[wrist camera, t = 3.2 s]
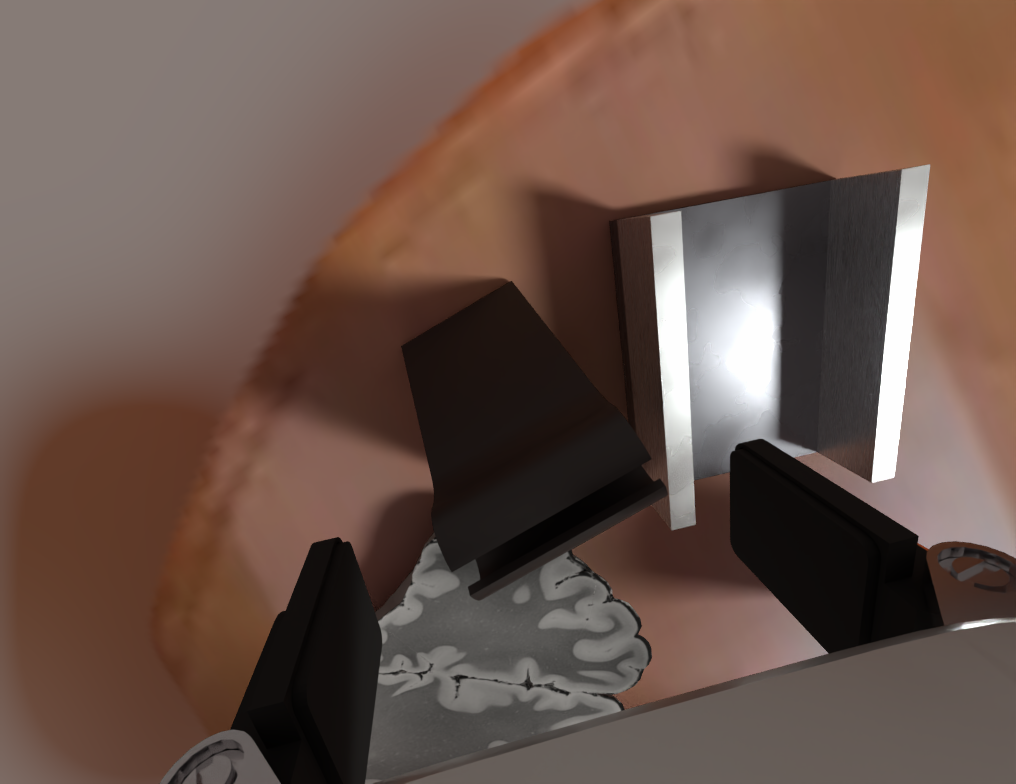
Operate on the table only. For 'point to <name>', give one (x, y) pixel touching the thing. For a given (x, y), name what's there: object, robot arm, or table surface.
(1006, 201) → the table surface
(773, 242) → the guide cradle
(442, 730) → the brain slice
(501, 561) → the phone stand
